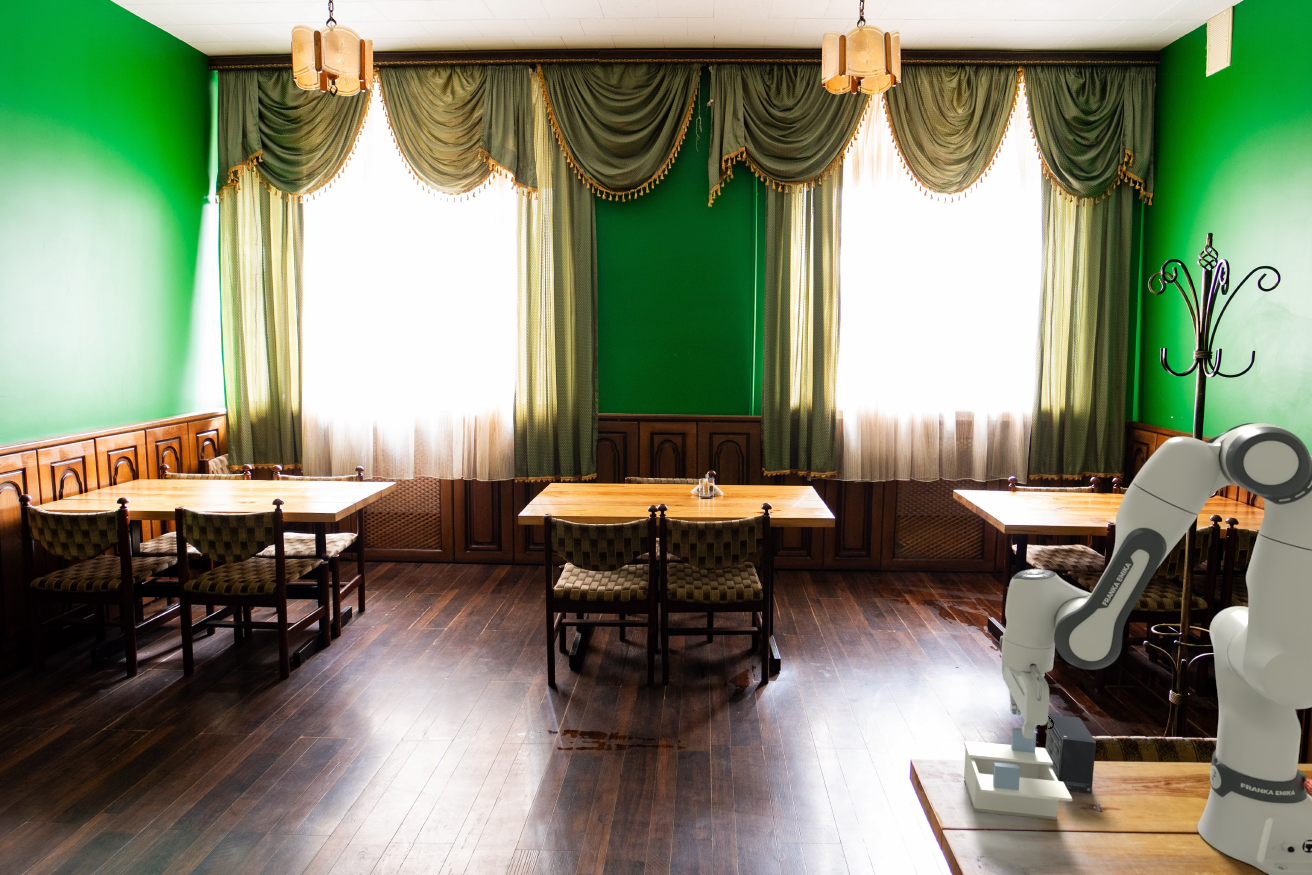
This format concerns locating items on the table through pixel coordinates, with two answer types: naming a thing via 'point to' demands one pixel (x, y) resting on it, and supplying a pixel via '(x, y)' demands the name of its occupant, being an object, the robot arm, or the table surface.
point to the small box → (1071, 752)
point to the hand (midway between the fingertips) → (1021, 724)
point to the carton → (1009, 802)
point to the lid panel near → (1020, 784)
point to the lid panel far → (1010, 750)
